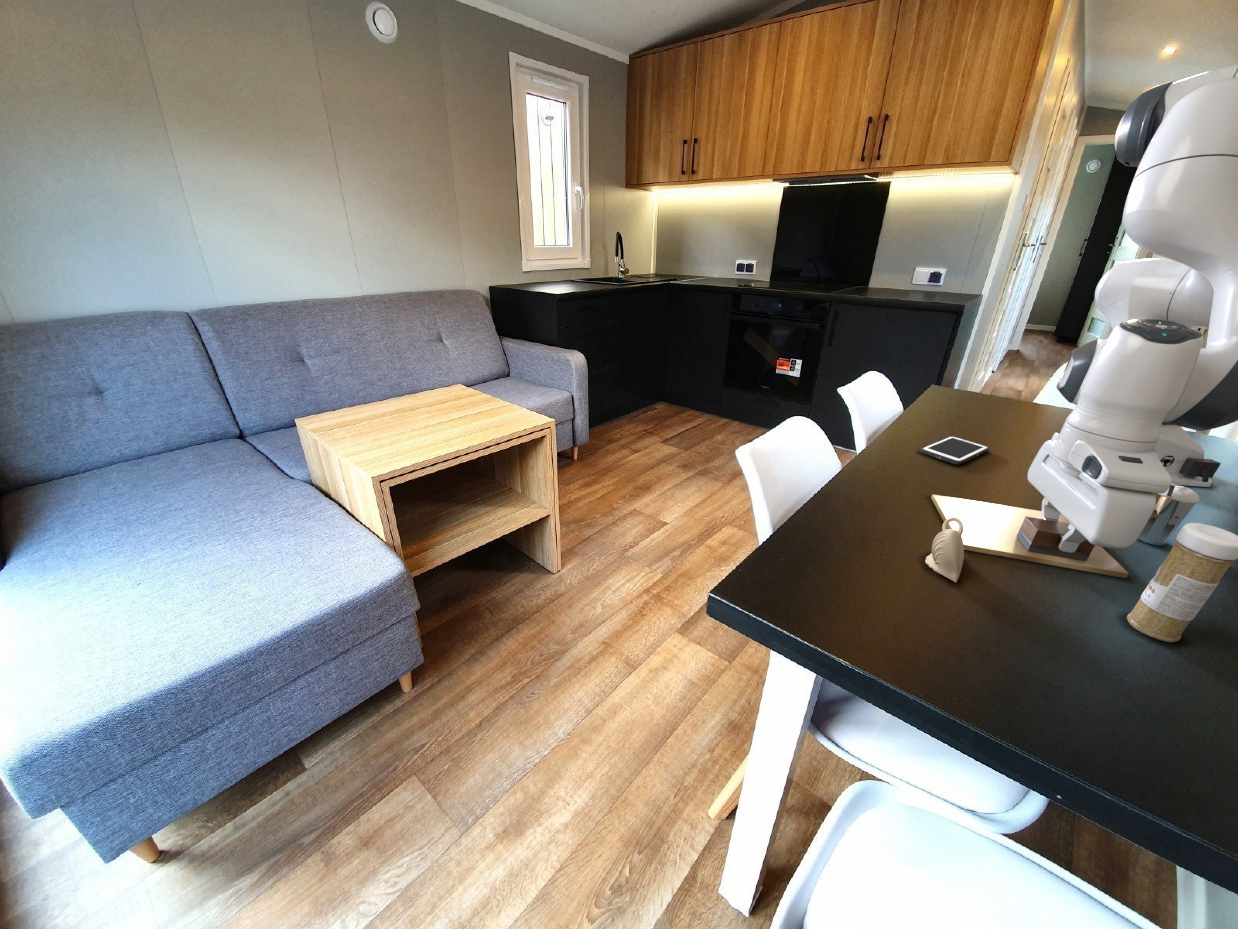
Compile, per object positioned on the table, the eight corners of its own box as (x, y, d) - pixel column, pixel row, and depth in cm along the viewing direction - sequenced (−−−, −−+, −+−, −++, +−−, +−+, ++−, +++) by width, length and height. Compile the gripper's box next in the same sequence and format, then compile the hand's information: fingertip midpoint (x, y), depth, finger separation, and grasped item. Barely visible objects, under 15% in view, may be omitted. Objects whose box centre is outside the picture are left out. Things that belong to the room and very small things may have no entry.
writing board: (1067, 519, 80) (1070, 515, 79) (1126, 578, 66) (1129, 573, 65) (930, 498, 85) (932, 494, 84) (958, 548, 71) (960, 544, 71)
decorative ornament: (920, 570, 66) (932, 537, 64) (933, 544, 72) (944, 513, 69) (955, 584, 64) (969, 550, 61) (965, 556, 69) (978, 524, 67)
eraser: (1072, 545, 71) (1082, 525, 70) (1086, 561, 68) (1098, 540, 66) (1016, 536, 73) (1025, 516, 71) (1027, 551, 69) (1037, 530, 68)
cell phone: (918, 452, 103) (919, 448, 102) (950, 439, 111) (952, 435, 110) (957, 466, 97) (959, 461, 97) (989, 451, 105) (990, 446, 104)
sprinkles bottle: (1125, 610, 60) (1183, 516, 54) (1178, 630, 57) (1245, 533, 51) (1125, 629, 57) (1186, 532, 51) (1181, 651, 54) (1252, 550, 48)
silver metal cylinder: (1119, 535, 76) (1151, 478, 71) (1137, 529, 78) (1170, 473, 73) (1158, 552, 72) (1194, 492, 68) (1176, 544, 74) (1212, 486, 70)
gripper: (1035, 421, 73) (1001, 501, 79) (1114, 478, 56) (1063, 576, 62) (1086, 427, 72) (1047, 508, 78) (1183, 488, 54) (1124, 587, 60)
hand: (1055, 539), depth 70 cm, fingers closed on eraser, 4 cm apart
